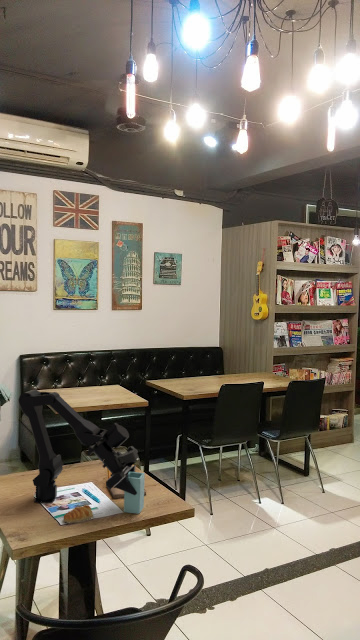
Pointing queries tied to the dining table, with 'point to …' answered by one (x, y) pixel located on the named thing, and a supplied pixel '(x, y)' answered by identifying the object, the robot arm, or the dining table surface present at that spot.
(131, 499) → the light blue square vase
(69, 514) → the pastry
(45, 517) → the dining table surface
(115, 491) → the tray
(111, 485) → the robot arm
